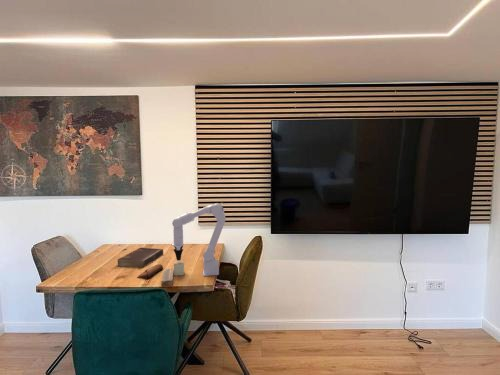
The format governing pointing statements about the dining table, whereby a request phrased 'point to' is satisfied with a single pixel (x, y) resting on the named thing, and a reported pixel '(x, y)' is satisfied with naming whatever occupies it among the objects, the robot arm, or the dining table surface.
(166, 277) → the tan rectangular bar
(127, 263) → the hardback book
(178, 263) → the block
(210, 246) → the robot arm
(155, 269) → the sunglasses case
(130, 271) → the dining table surface
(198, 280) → the dining table surface
